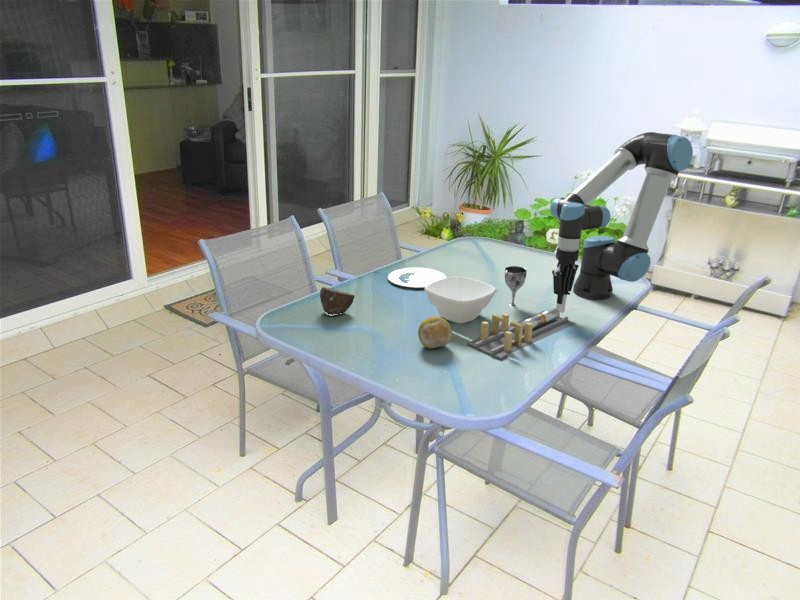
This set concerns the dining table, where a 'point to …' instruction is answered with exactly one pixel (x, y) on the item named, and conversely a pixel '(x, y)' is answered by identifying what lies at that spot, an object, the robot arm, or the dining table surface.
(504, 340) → the guide plate
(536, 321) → the tube
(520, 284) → the wine glass
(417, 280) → the plate
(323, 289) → the brown coconut half
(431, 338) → the fruit
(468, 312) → the bowl
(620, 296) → the dining table surface
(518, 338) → the aperture bridge
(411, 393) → the dining table surface
